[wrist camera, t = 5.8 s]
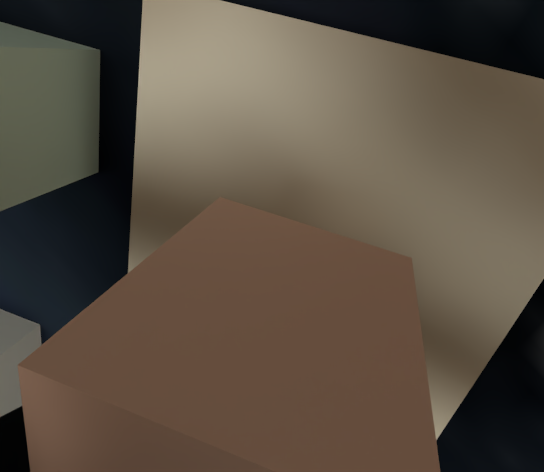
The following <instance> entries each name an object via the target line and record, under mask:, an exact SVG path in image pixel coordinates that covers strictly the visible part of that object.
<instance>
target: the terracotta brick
mask: <svg viewBox="0 0 544 472" xmlns="http://www.w3.org/2000/svg"><path fill="white" fill-rule="evenodd" d="M18 373H19V382H20V390H21V398H22V407H23V415H24V423H25V432H26V440H27V448H28V456H29V465H30V472H440V466H439V458H438V451H437V443H436V436H435V428H434V421H433V413H432V406H431V398H430V391H429V383H428V376H427V368H426V361H425V353H424V346H423V339H422V331H421V324H420V316H419V309H418V301H417V294H416V286H415V279H414V271H413V264H412V258H411V257H407V256H404V255H401V254H398V253H395V252H392V251H389V250H385V249H382V248H379V247H376V246H373V245H370V244H367V243H363V242H360V241H357V240H354V239H351V238H348V237H344V236H341V235H338V234H335V233H332V232H329V231H326V230H322V229H319V228H316V227H313V226H310V225H307V224H304V223H300V222H297V221H294V220H291V219H288V218H285V217H282V216H278V215H275V214H272V213H269V212H266V211H263V210H260V209H256V208H253V207H250V206H247V205H244V204H241V203H237V202H234V201H231V200H228V199H225V198H222V197H219V198H218V199H217V200H216V201H214V202H213V203H212V204H211V205H210V206H208V207H207V208H206V209H205V210H204V211H202V212H201V213H200V214H199V215H198V216H196V217H195V218H194V219H193V220H192V221H190V222H189V223H188V224H187V225H185V226H184V227H183V228H182V229H181V230H179V231H178V232H177V233H176V234H175V235H173V236H172V237H171V238H170V239H169V240H167V241H166V242H165V243H164V244H163V245H161V246H160V247H159V248H158V249H157V250H155V251H154V252H153V253H152V254H151V255H149V256H148V257H147V258H146V259H145V260H143V261H142V262H141V263H140V264H139V265H137V266H136V267H135V268H134V269H133V270H131V271H130V272H129V273H128V274H127V275H125V276H124V277H123V278H122V279H120V280H119V281H118V282H117V283H116V284H114V285H113V286H112V287H111V288H110V289H108V290H107V291H106V292H105V293H104V294H102V295H101V296H100V297H99V298H98V299H96V300H95V301H94V302H93V303H92V304H90V305H89V306H88V307H87V308H86V309H84V310H83V311H82V312H81V313H80V314H78V315H77V316H76V317H75V318H74V319H72V320H71V321H70V322H69V323H68V324H66V325H65V326H64V327H63V328H62V329H60V330H59V331H58V332H57V333H55V334H54V335H53V336H52V337H51V338H49V339H48V340H47V341H46V342H45V343H43V344H42V345H41V346H40V347H39V348H37V349H36V350H35V351H34V352H33V353H31V354H30V355H29V356H28V357H27V358H25V359H24V360H23V361H22V362H21V363H19V364H18Z"/></svg>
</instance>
